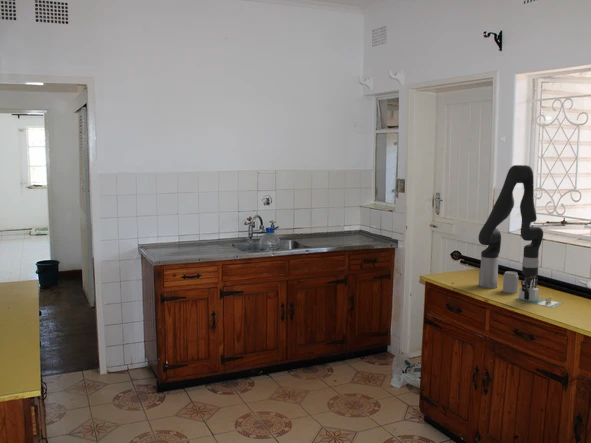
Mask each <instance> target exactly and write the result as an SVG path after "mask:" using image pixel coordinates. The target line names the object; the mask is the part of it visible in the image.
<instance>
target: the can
mask: <svg viewBox="0 0 591 443" xmlns="http://www.w3.org/2000/svg"><path fill="white" fill-rule="evenodd" d="M502 278H503V279H502V280H503V282H502V292H504V293H508V294H517V293H519V292H518V291H519V275H518V272H517V271H510V270H508V271H505V272H504V273H503V277H502Z"/></svg>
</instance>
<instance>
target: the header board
mask: <svg viewBox="0 0 591 443" xmlns="http://www.w3.org/2000/svg"><path fill="white" fill-rule="evenodd" d="M513 300H514V301H519V302H524V303H528V304H533V305H537V306H542V307H546V308H547V307H548V308H552V309H554V308H556V307H559V306H561V305H562V304H564V303H563V302H561V301H555V300H552V296H551V295H550V296H547V297H545V298H540V297H539V299H538V301H535V302H534V301H529V300H524V299H519V297H517V298H513Z"/></svg>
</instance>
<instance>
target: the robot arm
mask: <svg viewBox="0 0 591 443" xmlns="http://www.w3.org/2000/svg"><path fill="white" fill-rule="evenodd" d="M518 184H522V185H523V193H522V194H523V195H522V198H521V201H520V205H519V211H520V216H521V226H520V237H521V238H522V240H523V241H525V242H526V241H528V242H529V241H530V243H529V244H526V245H524V246H523V254H522V255H523V257H522V268H521V273H522V275H523V276H524V278H523V280H521V281H520V284H521V286H522V291H524V299H527V300H528V299H529V291H530V288H531V287H532V288H537V284H538V280H539V277H537V276H538V275H539V264H540V263H539V256H540V255H539V251H540V247H541V245H542V243H543V242H542V241H543V239H544V230H543V228H542V227H541V226H536V225H535V226H531V223H534V222H536V221H537V219H538V218H537V213H536V212H537V211H536V208H535V207H536V206H535V198H534V197H535V196H534V195H535V193H534V190H535V188H534V187H535V186H534V184H535V182H534V172H533V169H532V167H531V166H530V165H525V164H522V165H521V164H520V165H519V164H516V165H515V164H514V165H512V166H510V168H509V169H508V172H507V174H506V176H505V179H504V182H503V186H502V188H501V191H500V192H499V195H498V197H497V199H496V201H495V203H494V205H493V207H492V209H491V212H490V214H489V216H488V218H487V219H486V221H485V223H484V224H483V226H482V228H481V229H480V231H479V234H478V242H479V243H480V244H481V245H482V246H486V248H485V249H483V250H481V253H480V268H479V269H478V286H479V287H481V288H484V289H496V288H498V276H499V275H498V274H499V255H500V252H501V246H502V245H501V244H502V233H501V230H499V229H498V228H497V227H498V226H499V225H500V224H501V223H503V222H505V220H506V219H508V217H509V216H510V215H511V212H512V211H513V208H514V207H515V199H514V198H515V197H514V193H513V192H514V191H515V190H514V189H515V187H516V186H517V185H518ZM521 286H520V287H521Z"/></svg>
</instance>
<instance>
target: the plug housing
mask: <svg viewBox="0 0 591 443" xmlns="http://www.w3.org/2000/svg"><path fill="white" fill-rule="evenodd" d="M518 291H519V292H518V298H519V299H524V291H522V286H519V287H518ZM539 296H540V288H537V287H536V288H532V287H531V288H530V291H529V299H528V300H529V301H534V302H535V301H538V299H539V298H540V297H539ZM524 300H527V299H524Z"/></svg>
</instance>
